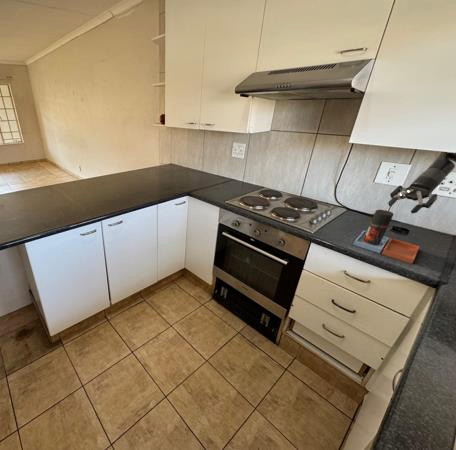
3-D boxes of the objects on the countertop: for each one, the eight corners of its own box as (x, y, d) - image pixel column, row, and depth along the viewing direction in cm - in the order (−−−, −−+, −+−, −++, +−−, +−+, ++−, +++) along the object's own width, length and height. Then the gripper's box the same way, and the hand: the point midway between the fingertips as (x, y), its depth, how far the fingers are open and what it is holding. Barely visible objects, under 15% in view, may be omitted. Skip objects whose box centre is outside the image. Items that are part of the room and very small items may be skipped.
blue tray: (387, 241, 115) (389, 237, 114) (379, 253, 107) (381, 249, 106) (362, 234, 122) (363, 230, 121) (353, 244, 113) (354, 240, 112)
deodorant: (383, 245, 111) (397, 215, 105) (369, 245, 111) (383, 215, 105) (372, 238, 117) (385, 209, 110) (360, 238, 117) (372, 209, 110)
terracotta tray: (417, 250, 108) (419, 246, 107) (411, 263, 100) (414, 259, 99) (389, 241, 115) (390, 238, 114) (381, 253, 106) (383, 249, 105)
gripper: (407, 172, 113) (381, 198, 114) (449, 180, 101) (419, 210, 103) (409, 181, 117) (384, 207, 119) (449, 191, 105) (421, 219, 107)
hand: (400, 208), depth 111 cm, fingers open, 8 cm apart
